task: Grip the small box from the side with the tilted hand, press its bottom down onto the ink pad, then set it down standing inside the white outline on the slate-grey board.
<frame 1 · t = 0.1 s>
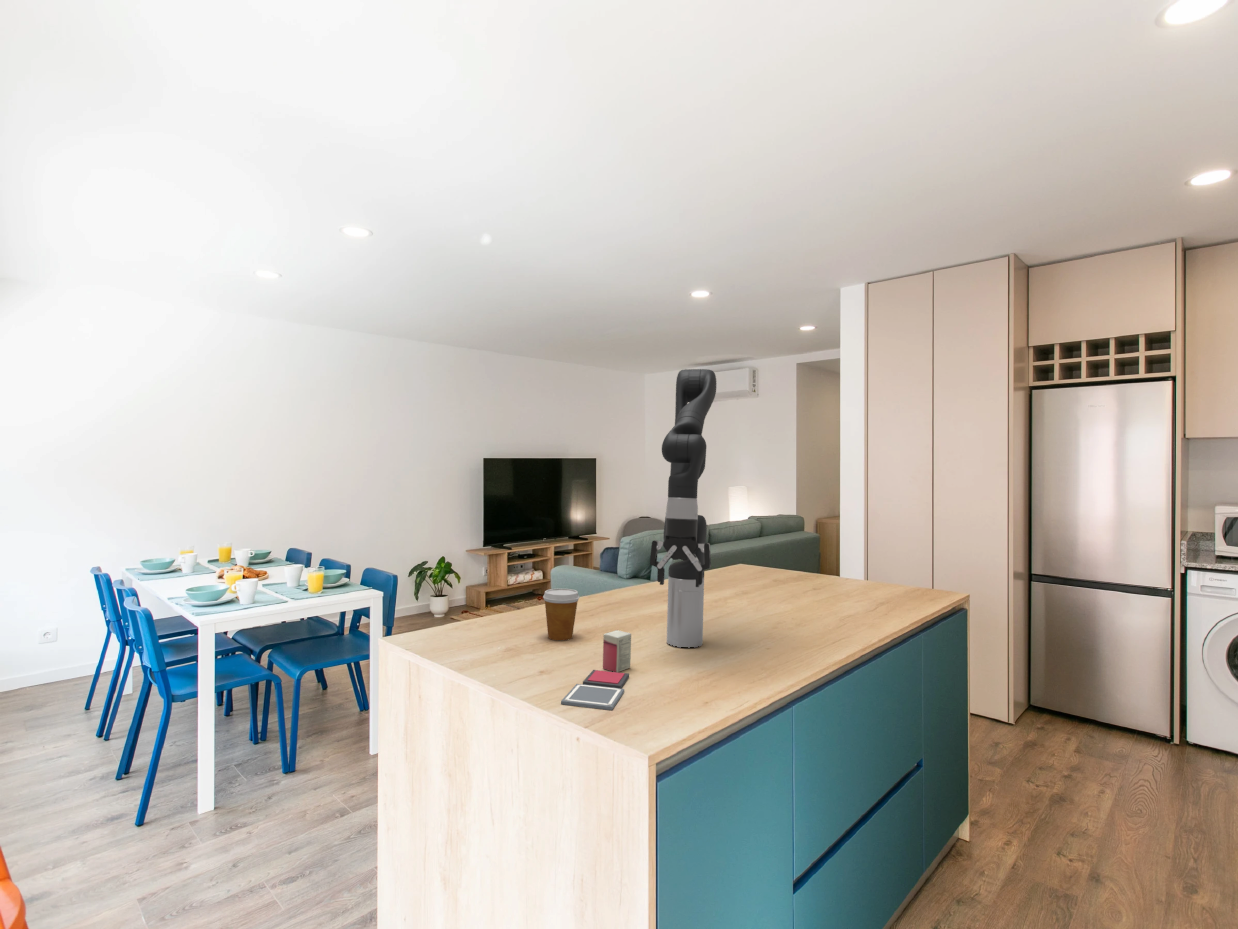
hand: (679, 585, 151), 17 cm above the countertop, tool pointing down, fingers open, 8 cm apart
disposable coffee cup: (560, 638, 167), on the countertop
small box: (616, 669, 143), on the countertop
target board: (593, 698, 125), on the countertop
ink pad: (606, 681, 134), on the countertop
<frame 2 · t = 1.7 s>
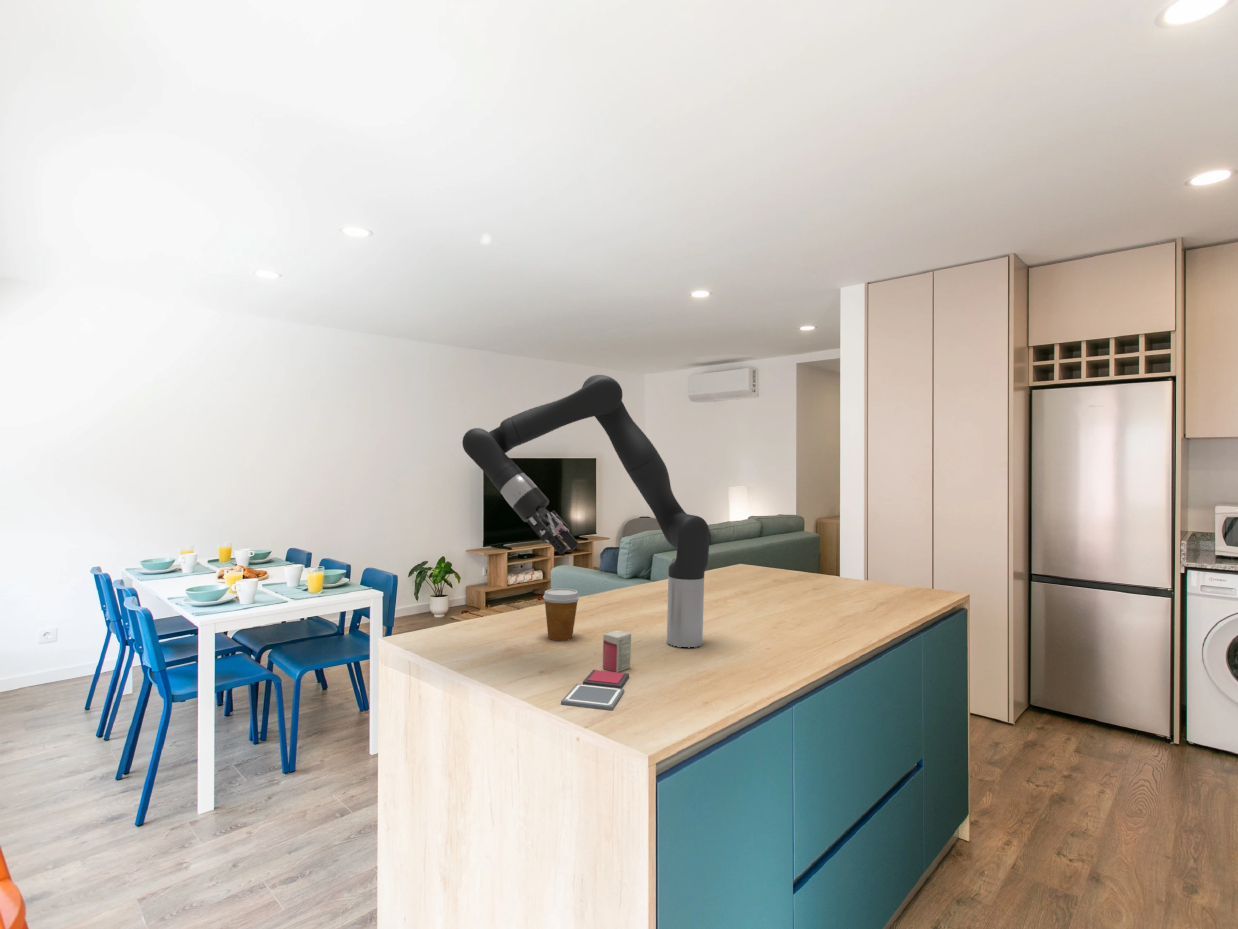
hand: (570, 549, 146), 26 cm above the countertop, tool tilted 45°, fingers open, 8 cm apart
nothing on the countertop moved.
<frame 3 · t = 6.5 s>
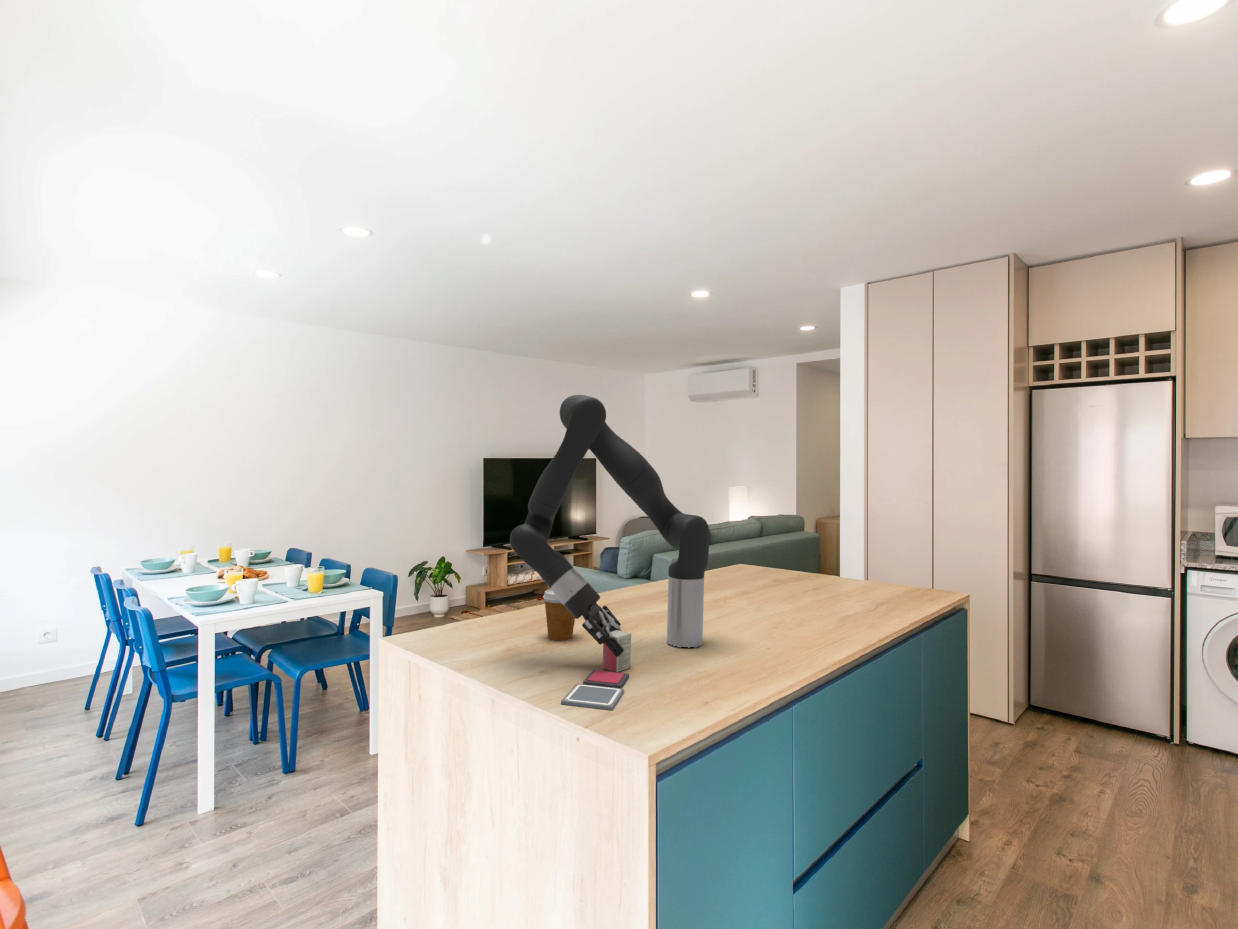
hand: (624, 649, 143), 4 cm above the countertop, tool tilted 45°, fingers closed on small box, 6 cm apart
small box: (616, 669, 143), on the countertop, touching gripper
everything else where it was.
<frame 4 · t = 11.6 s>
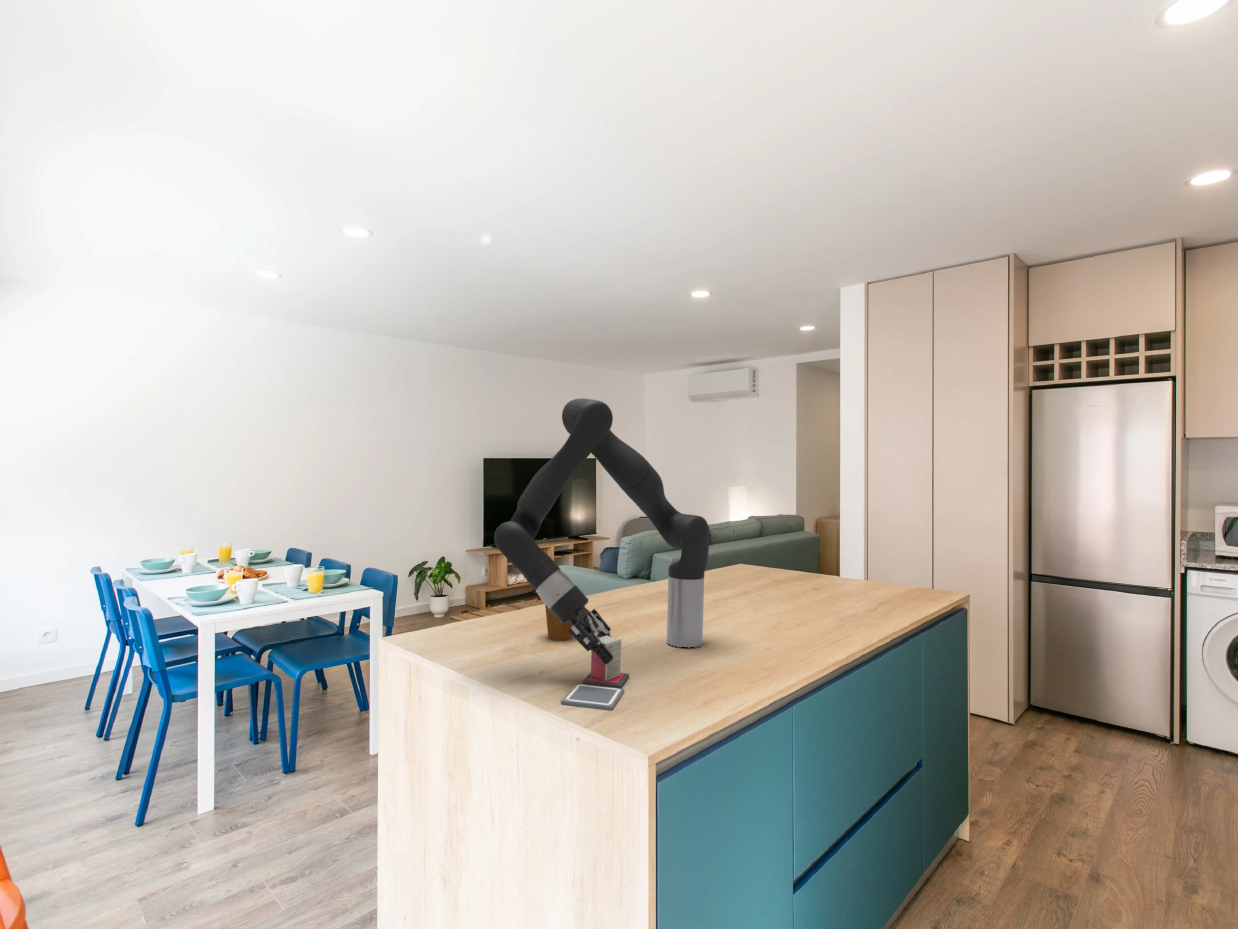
hand: (613, 656, 134), 5 cm above the countertop, tool tilted 45°, fingers closed on small box, 6 cm apart
small box: (605, 677, 134), point 1 cm above the countertop, touching gripper, ink pad
everything else where it was.
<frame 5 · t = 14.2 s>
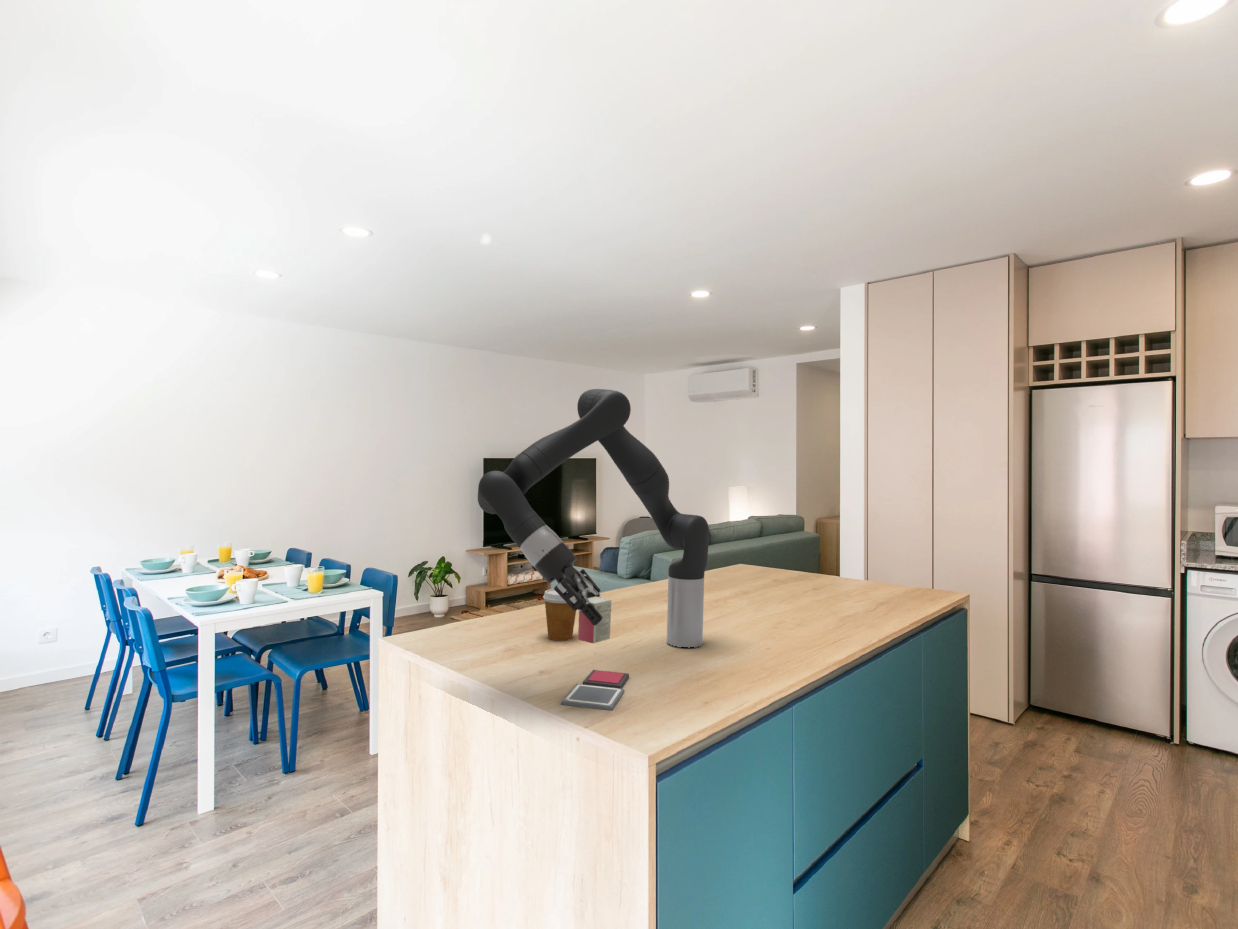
hand: (603, 618, 124), 16 cm above the countertop, tool tilted 45°, fingers closed on small box, 6 cm apart
small box: (593, 640, 125), point 11 cm above the countertop, touching gripper
everything else where it was.
when the fingers open (6 cm above the countertop, at t = 16.8 s): small box drops 1 cm, resting on target board.
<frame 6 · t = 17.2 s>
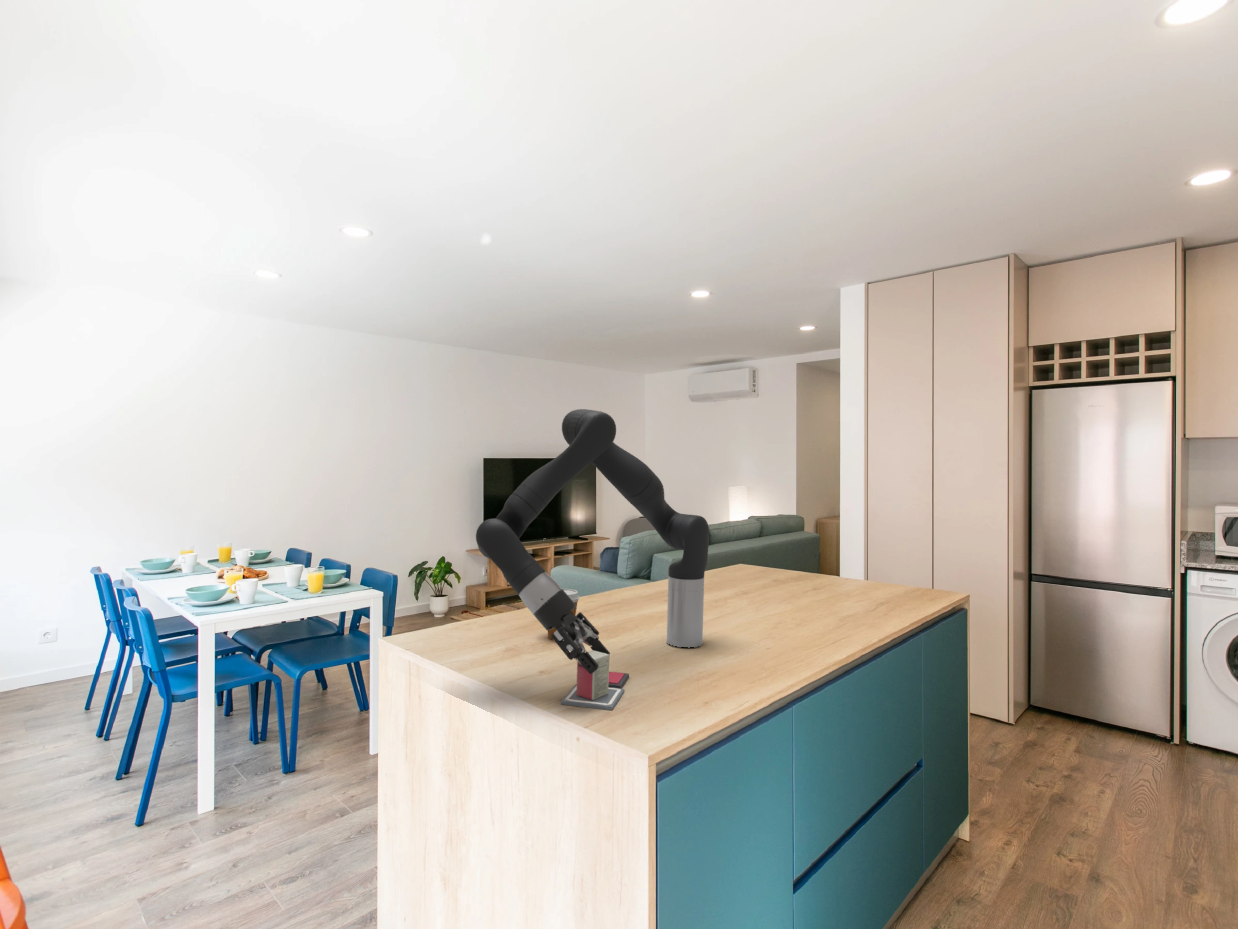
hand: (601, 664, 124), 7 cm above the countertop, tool tilted 45°, fingers open, 8 cm apart
small box: (592, 695, 125), resting on target board
everything else where it was.
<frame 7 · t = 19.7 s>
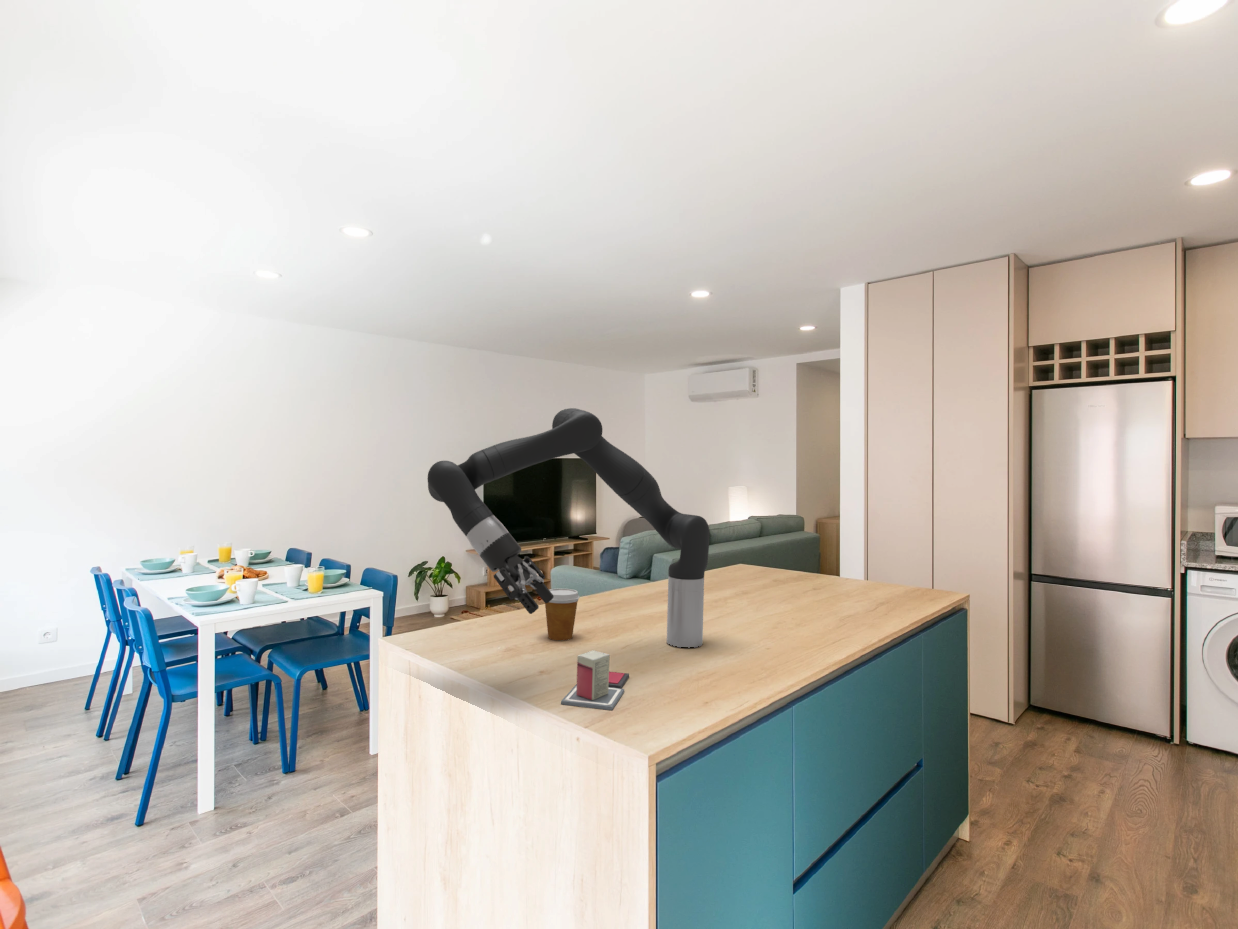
hand: (542, 605, 128), 17 cm above the countertop, tool tilted 40°, fingers open, 8 cm apart
nothing on the countertop moved.
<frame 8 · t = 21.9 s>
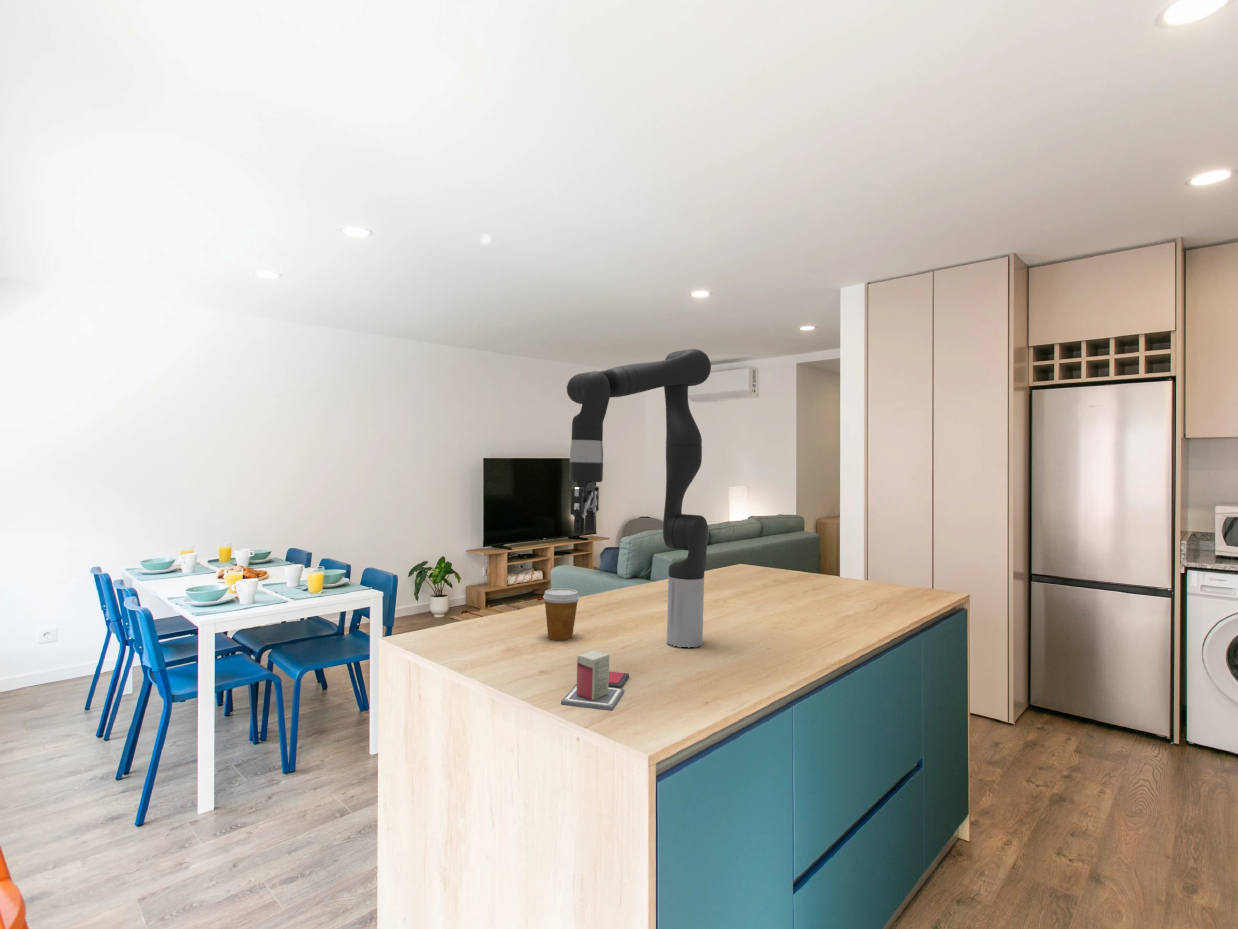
hand: (584, 532, 144), 30 cm above the countertop, tool pointing down, fingers open, 8 cm apart
nothing on the countertop moved.
at the end: small box 0.2 cm off-centre on the target board, point 0.4 cm above the target board's base; small box tilted 0°; the gripper is holding nothing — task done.
